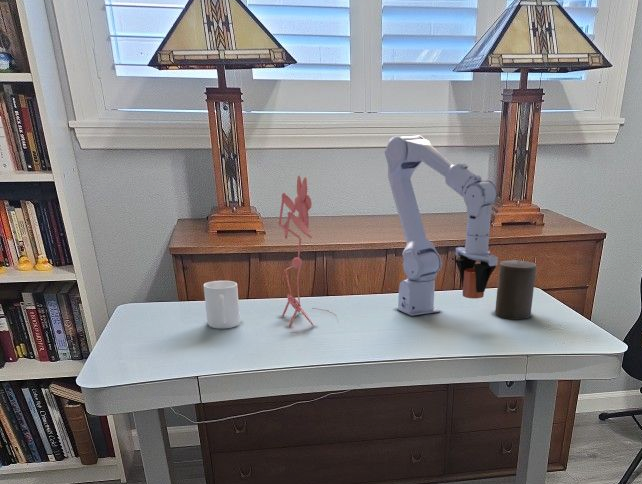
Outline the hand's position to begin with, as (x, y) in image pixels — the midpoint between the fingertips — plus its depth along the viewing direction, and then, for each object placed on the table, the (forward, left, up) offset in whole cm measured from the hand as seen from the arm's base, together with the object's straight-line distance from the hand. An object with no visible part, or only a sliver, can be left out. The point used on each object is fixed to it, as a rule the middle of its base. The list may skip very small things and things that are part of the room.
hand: (473, 289), depth 180 cm
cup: (-58, +26, -9) cm, 65 cm away
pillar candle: (+15, +1, -9) cm, 18 cm away
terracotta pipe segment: (0, 0, -2) cm, 2 cm away
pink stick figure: (-36, +21, -9) cm, 43 cm away
